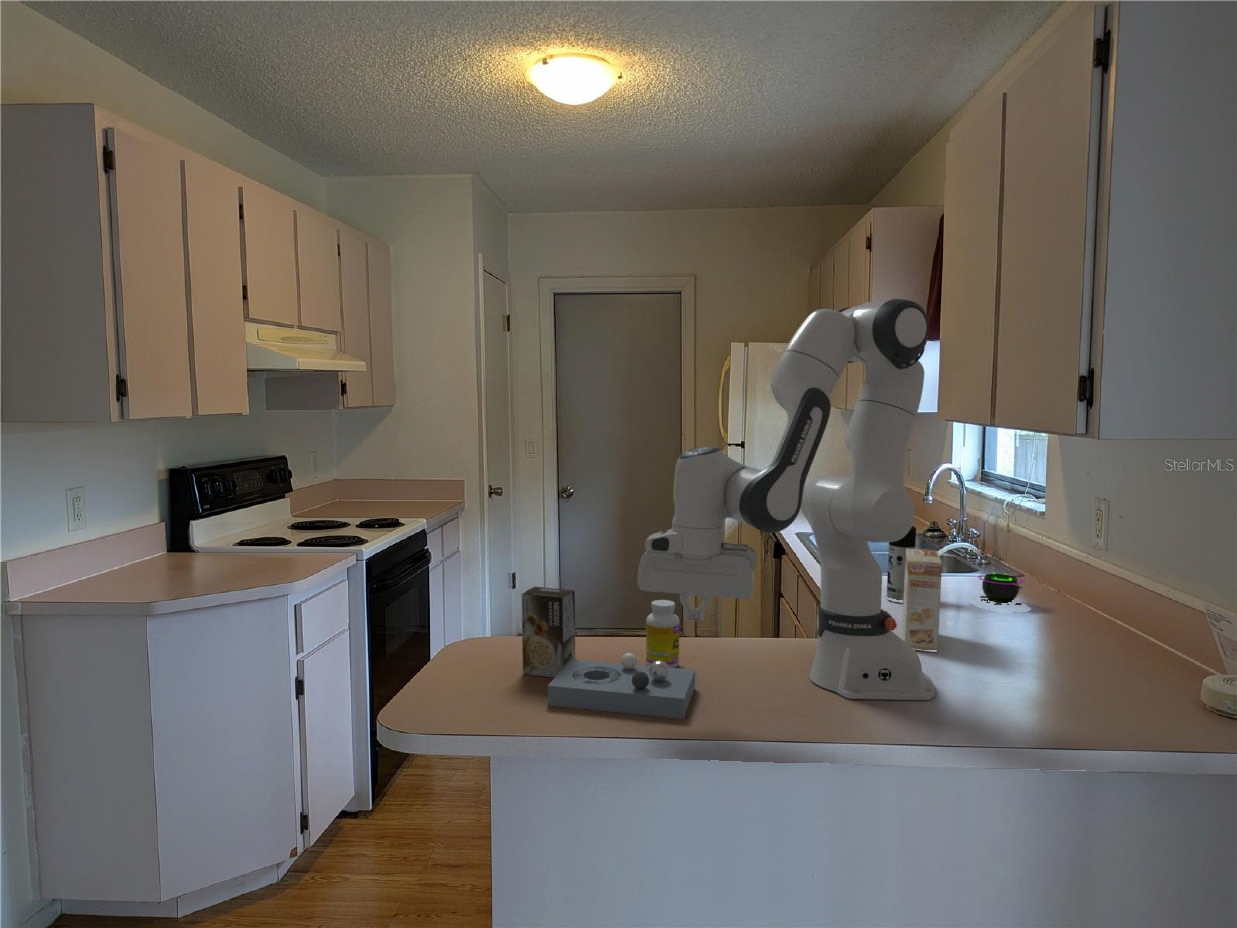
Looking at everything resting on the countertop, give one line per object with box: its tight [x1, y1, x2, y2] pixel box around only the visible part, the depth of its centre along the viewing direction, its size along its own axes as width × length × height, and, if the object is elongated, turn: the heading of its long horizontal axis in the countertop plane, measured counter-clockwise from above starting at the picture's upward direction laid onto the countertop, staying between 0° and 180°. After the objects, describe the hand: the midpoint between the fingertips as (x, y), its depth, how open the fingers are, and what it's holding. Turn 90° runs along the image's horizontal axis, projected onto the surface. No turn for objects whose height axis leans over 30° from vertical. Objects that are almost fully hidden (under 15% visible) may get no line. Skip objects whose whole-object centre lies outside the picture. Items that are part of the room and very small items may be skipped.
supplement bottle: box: [645, 599, 680, 668], centre depth 157 cm, size 7×7×13 cm
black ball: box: [632, 671, 649, 689], centre depth 135 cm, size 3×3×3 cm
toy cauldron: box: [977, 562, 1026, 605], centre depth 203 cm, size 15×15×11 cm
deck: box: [547, 658, 696, 720], centre depth 140 cm, size 24×14×4 cm, turn 77°
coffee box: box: [521, 586, 576, 679], centre depth 152 cm, size 9×6×16 cm
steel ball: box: [649, 661, 669, 681], centre depth 139 cm, size 4×4×4 cm
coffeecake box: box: [901, 548, 943, 651], centre depth 172 cm, size 15×7×20 cm, turn 161°
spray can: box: [886, 525, 917, 601], centre depth 206 cm, size 7×7×20 cm
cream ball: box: [620, 652, 638, 669], centre depth 144 cm, size 3×3×3 cm
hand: (694, 619), depth 136 cm, fingers closed
